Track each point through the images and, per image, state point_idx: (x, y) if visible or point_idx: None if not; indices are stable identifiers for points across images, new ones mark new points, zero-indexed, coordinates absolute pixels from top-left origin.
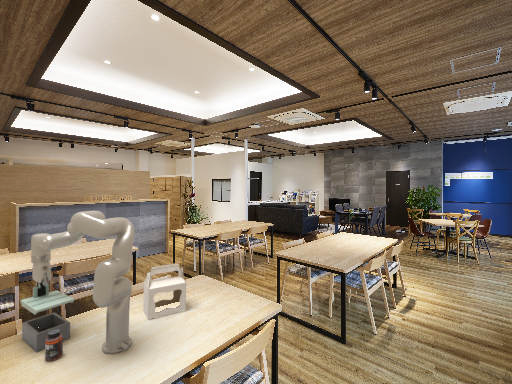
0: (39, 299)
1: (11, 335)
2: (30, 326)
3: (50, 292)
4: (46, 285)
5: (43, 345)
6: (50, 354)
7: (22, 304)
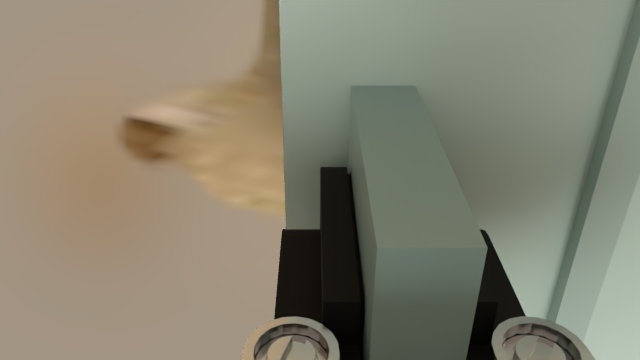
0: (589, 301)
1: (165, 157)
2: None
3: (319, 13)
4: (467, 296)
5: None
6: None
7: None
